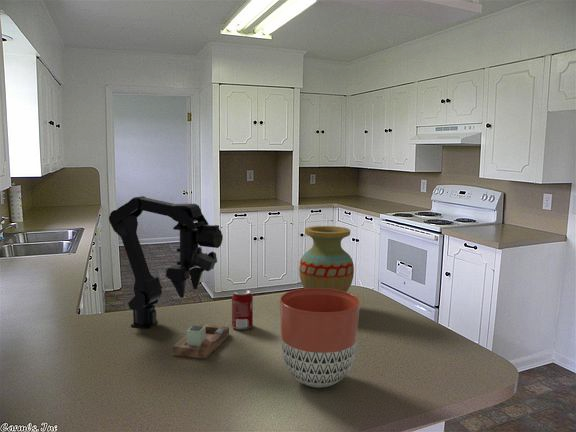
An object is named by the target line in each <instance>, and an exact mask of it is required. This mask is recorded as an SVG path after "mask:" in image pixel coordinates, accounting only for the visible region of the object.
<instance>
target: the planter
mask: <svg viewBox="0 0 576 432" xmlns="http://www.w3.org/2000/svg"><path fill="white" fill-rule="evenodd" d="M279 298H280V299H279V311H280V312H279V313H280V314H279V315H280V333H281V334H280V335H281V350H282V351H281V352H282V356H283V360H284V363H285V366H286V368H287V370H288V372H289V373H290V374H291V375H292V377H294V378H295V379H296V380H297V381H298V382H299V383H301V384H303V385H305V386H307V387H311V388H318V389H321V388H328V387H331V386H333V385H336V384H338V383H339V382H341V380H343V379H344V378H345V377H346V376H347V375H348V373H349V372H350V370H351V368H352V365H353V363H354V359H355V356H356V350H357V349H356V347H357V337H358V327H359V319H360V318H359V316H360V308H361V307H360V305H361V301H360V299H359V298H358V297H357V296H356V295H354V294H353V293H350V292H348V291H347V292H344V291H340V290H335V289H328V288H304V287H303V288H298V289H294V290H290V291H287V292H285V293H282V295H281V296H280V297H279Z"/></svg>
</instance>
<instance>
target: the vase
mask: <svg viewBox="0 0 576 432" xmlns="http://www.w3.org/2000/svg"><path fill="white" fill-rule="evenodd" d="M304 234H305V235H306V236H308V237H310V238H311V239H312V241H313V242H312V247H311V248H310V249H308V250H307V251H305V252H304V254H302V256H301V258H300V262H299V267H298V268H299V269H298V270H299V272H298V275H299V280H300V284H301V286H302V287H303V289H304V288H328V289H335V290H340V291H344V292H348V291H349V289H350V287H351V285H352V283H353V279H354V274H355V264H354V262H353V258H352V257H351V255H350V254H349V253H348V252H346V251H345V250H344V248H342V240H343V239H345V238H346V237H349V236H350V235H351V229H349V228H347V227H343V226H334V225H333V226H332V225H315V226H307V227H305V228H304Z"/></svg>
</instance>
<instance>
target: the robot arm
mask: <svg viewBox="0 0 576 432" xmlns="http://www.w3.org/2000/svg"><path fill="white" fill-rule="evenodd" d="M143 212H147V213H148V212H149V213H152V214H155V215H161V216H164V217H169V218H171V219H172V220H173V221H175V222H177V223H176V225H175V226H173V227H172V229H173V230H174V231H179V247H177V249H176V252H178V253H179V260H177V261H176V265H172V266H170V267H168V268H167V269H165V278H168V280H170V282H171V283H172V286H174V289H175V291H176V292H177V294H178V296H179V297H180V298H183V299H184V297H185V291H186V284H187V281H188V280H189V279H190V280H191V284H192V288H193V290H197V289H198V288H199V284H200V282H201V281H200V280H201V278H202V275H203V272H204V271H205V272H210V271H211V270H213V269H214V268H215V265H216V264H217V263H218V257H217V253H216V252H214V251H211V252H209V253H207V252H205V253H204V252H203V249H202V247H206V248H213V249H214V248H215V249H219V248H220V247H221V245H222V244H223V239H224V238H223V233H222V231H221V229H220V225H219V224H218V225H217V224H214V225H212V224H209V223H208V220H207V219H206V218H205V216H204V214H203V212H202V209H201V207H200V205H198V204H196V203H172V202H170V201H169V202H168V201H163V200H158V199H154V198H150V197H146V196H143V195H141V196H135V197H132V198H131V199H130V200H129V201H128V202H126V203H125V204H123V205H121V206H120V207H118V208H117V209H114V210H113V211H111V212H110V214H109V216H108V221H109V224H110V226H111V228H112V230H113V232H115V234H117V235H118V236H119V237H120V239H121V241H122V244H123V247H124V251H125V254H126V256H127V259H128V262H129V265H130V267H131V268H130V269H131V271H132V274H133V276H134V284H133V292H134V293H133V294H134V296H133V297H132V298H131V300H129V301H128V307H129V310H132V315H133V316H132V318H133V320H132V321H133V323H130V327H132V328H133V327H135V328H143V329H149V328H150V327H151V328H152V327H153V326H154V325H155V324H156V323H158V322H159V321H158V319H157V310H156V304H159V303H158V302H159V299H160V298H161V297H162V295H163V292H162V291H163V285H162V284H161V282H160V278H159V277H158V276H156V277H155V276H153V275H152V274H151V272H150V269H149V266H148V263H147V261H146V257H145V254H144V251H143V249H142V245H141V243H140V240H139V239H140V238H139V237H138V234H137V231H138V226H139V225H138V224H139V223H138V218H139V217H140V216H142V214H143Z"/></svg>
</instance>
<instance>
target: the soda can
mask: <svg viewBox="0 0 576 432" xmlns="http://www.w3.org/2000/svg"><path fill="white" fill-rule="evenodd" d="M253 298H254V297H253V295H252V293H251V290H249V289H246V288H245V289H243V288H241V289H236V290H234V291H233V294H232V296H231V327H232V328H234V329H235V330H240V331H245V330H249V329H250V328H252V327H253V323H254V322H253V321H254V319H253V316H254V315H253V314H254V313H253V309H254V308H253V305H254V304H253V300H254V299H253Z"/></svg>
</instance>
